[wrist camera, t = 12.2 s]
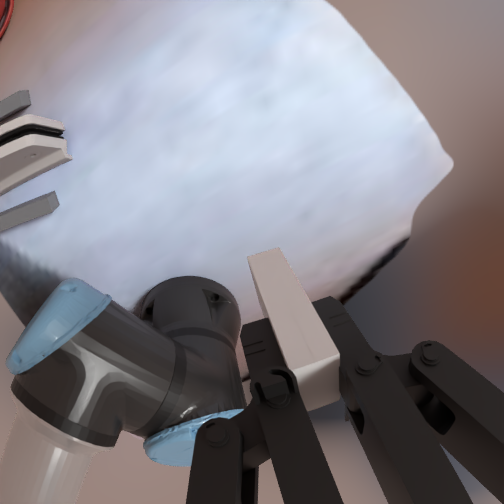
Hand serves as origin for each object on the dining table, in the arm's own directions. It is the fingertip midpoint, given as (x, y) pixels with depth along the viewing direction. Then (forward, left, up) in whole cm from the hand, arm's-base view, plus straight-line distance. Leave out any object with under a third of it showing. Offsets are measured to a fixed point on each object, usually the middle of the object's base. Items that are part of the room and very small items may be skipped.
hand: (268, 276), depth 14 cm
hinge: (+8, +26, -25) cm, 37 cm away
